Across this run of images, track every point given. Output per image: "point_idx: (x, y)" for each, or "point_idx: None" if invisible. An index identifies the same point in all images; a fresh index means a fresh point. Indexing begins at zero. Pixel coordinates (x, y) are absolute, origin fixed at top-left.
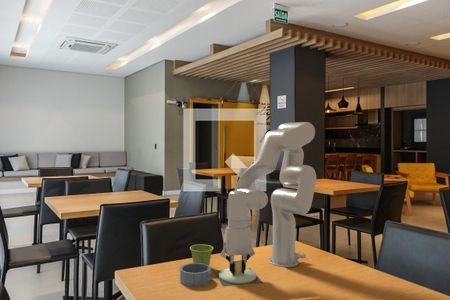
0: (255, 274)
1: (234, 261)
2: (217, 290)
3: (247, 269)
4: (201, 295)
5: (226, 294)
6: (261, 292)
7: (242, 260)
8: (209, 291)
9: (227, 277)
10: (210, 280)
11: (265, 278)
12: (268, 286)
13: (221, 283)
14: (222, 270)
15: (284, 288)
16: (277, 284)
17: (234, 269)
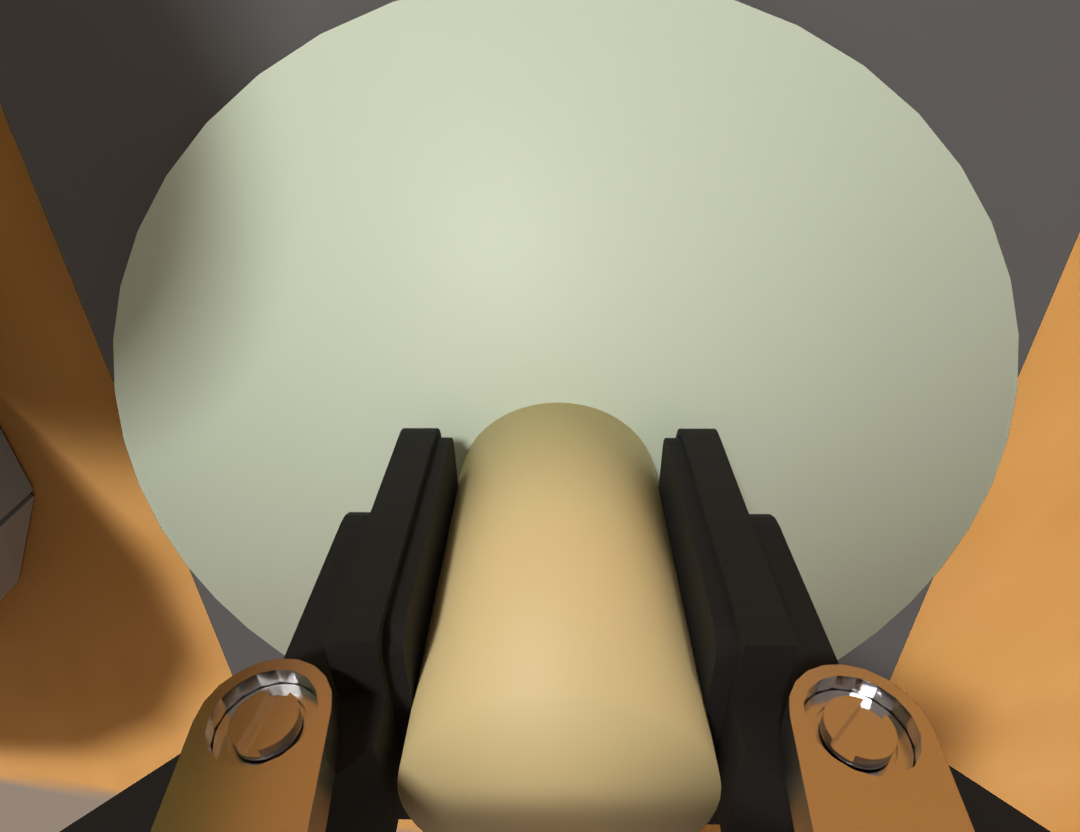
0: (919, 574)
1: (423, 826)
2: (186, 724)
3: (945, 263)
4: (7, 779)
5: None
6: (705, 827)
7: (736, 820)
8: (83, 727)
9: None
10: (7, 532)
11: (1068, 531)
12: None
13: (222, 642)
14: (194, 190)
15: (1034, 805)
16: (1052, 722)
17: None
